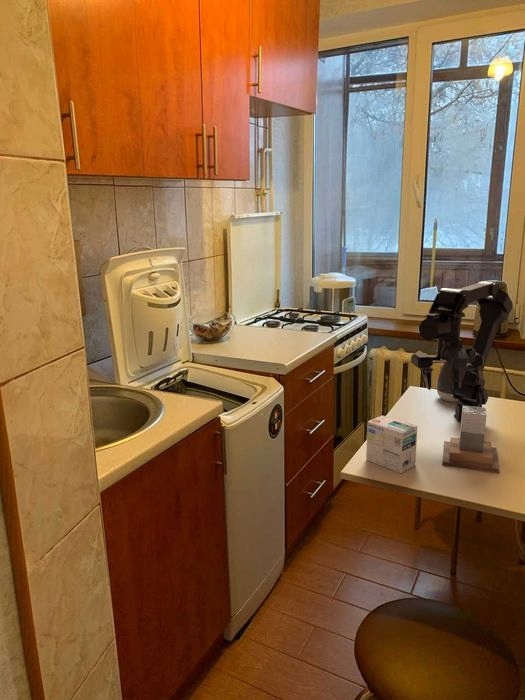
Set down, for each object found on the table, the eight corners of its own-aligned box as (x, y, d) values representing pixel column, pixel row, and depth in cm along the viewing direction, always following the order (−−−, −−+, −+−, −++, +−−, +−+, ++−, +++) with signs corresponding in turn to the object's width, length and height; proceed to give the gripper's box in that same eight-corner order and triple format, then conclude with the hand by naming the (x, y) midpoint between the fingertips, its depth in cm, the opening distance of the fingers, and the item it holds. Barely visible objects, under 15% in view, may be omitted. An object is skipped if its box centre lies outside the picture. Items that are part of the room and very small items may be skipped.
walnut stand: (444, 444, 146) (444, 434, 146) (495, 451, 142) (497, 440, 141) (442, 465, 134) (443, 454, 134) (498, 473, 130) (500, 461, 129)
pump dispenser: (465, 406, 174) (469, 361, 171) (432, 401, 179) (435, 357, 176) (470, 397, 183) (474, 354, 179) (438, 392, 188) (441, 350, 184)
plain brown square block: (459, 441, 141) (462, 405, 138) (482, 444, 139) (485, 407, 137) (459, 450, 136) (462, 412, 133) (482, 453, 134) (486, 415, 132)
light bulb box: (416, 465, 135) (418, 425, 132) (401, 474, 130) (403, 432, 127) (380, 452, 142) (382, 414, 140) (364, 460, 138) (366, 420, 135)
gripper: (427, 342, 139) (424, 400, 143) (496, 340, 141) (491, 396, 145) (411, 333, 150) (408, 386, 153) (476, 331, 151) (471, 384, 155)
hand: (444, 388), depth 151 cm, fingers open, 9 cm apart
